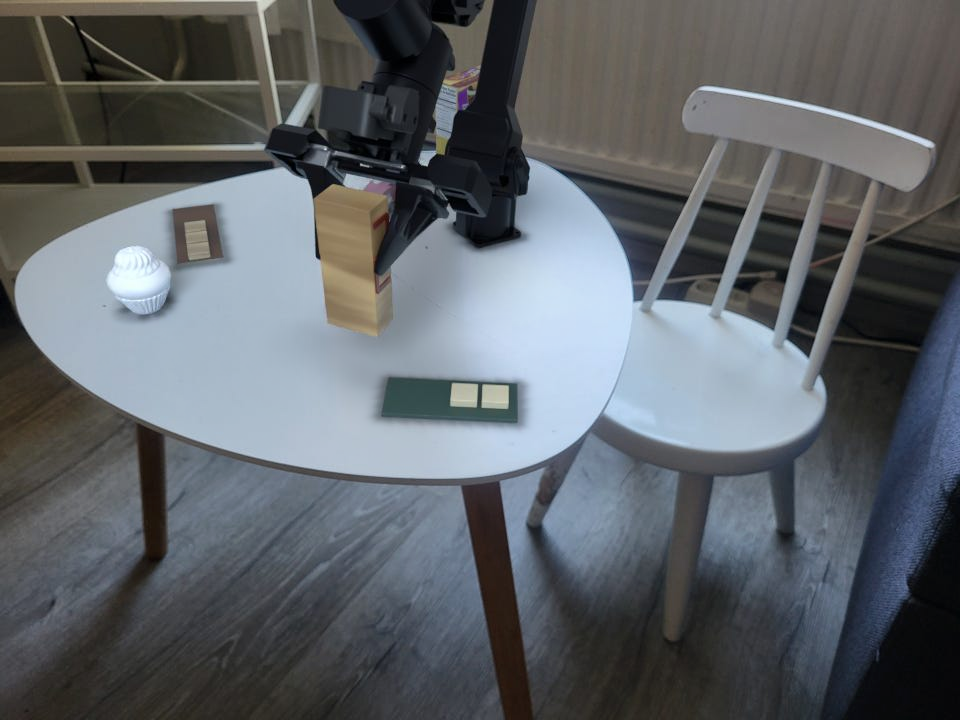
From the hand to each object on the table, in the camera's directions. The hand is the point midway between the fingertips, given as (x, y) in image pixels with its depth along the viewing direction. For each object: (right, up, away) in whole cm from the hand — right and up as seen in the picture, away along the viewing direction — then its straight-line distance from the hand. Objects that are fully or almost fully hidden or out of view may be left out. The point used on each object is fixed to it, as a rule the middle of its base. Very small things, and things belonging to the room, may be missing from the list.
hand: (348, 266), depth 61 cm
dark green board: (+8, -11, +7) cm, 16 cm away
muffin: (-24, -2, +17) cm, 29 cm away
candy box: (+9, +16, +42) cm, 46 cm away
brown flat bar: (-23, +8, +29) cm, 38 cm away
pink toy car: (-1, +12, +37) cm, 39 cm away
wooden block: (0, -4, +5) cm, 6 cm away
